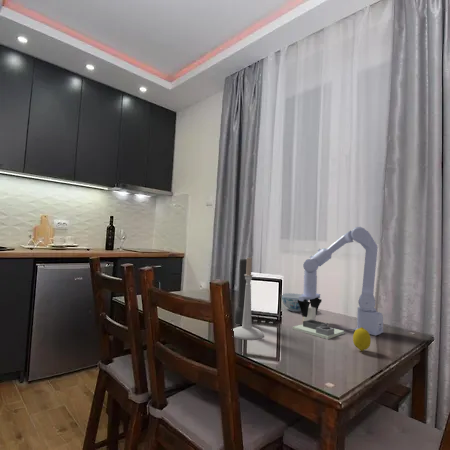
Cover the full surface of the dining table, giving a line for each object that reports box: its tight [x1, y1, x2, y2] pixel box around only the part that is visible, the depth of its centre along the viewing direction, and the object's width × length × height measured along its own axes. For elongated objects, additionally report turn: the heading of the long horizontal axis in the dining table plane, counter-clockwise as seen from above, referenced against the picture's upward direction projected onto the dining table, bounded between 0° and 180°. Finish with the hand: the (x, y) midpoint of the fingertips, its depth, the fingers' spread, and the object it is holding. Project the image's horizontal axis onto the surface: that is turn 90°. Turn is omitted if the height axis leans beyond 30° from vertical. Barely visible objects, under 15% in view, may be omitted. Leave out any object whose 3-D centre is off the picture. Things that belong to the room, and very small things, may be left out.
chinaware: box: [281, 292, 310, 312], centre depth 168 cm, size 15×15×8 cm
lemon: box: [352, 327, 372, 352], centre depth 106 cm, size 6×6×8 cm
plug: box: [302, 305, 317, 322], centre depth 142 cm, size 5×3×7 cm, turn 42°
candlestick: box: [232, 257, 264, 341], centre depth 120 cm, size 13×13×30 cm
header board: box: [292, 320, 345, 340], centre depth 128 cm, size 16×13×3 cm
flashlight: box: [234, 258, 247, 326], centre depth 136 cm, size 7×28×7 cm
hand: (309, 315), depth 141 cm, fingers open, 7 cm apart
